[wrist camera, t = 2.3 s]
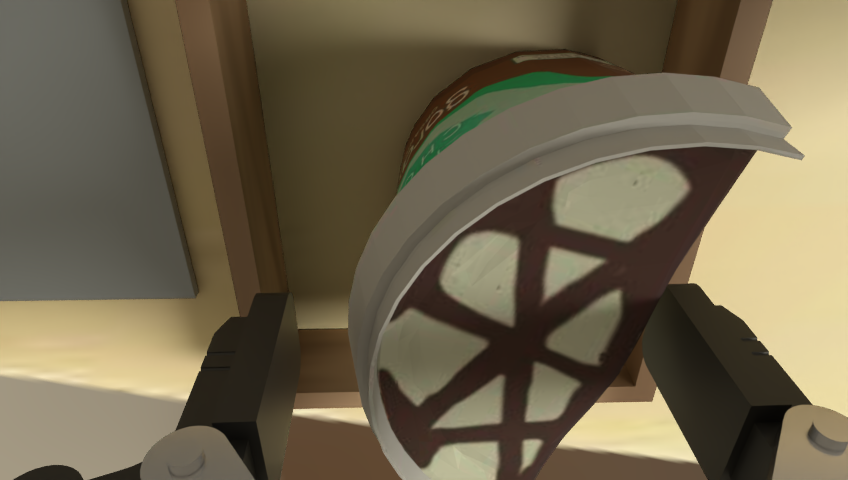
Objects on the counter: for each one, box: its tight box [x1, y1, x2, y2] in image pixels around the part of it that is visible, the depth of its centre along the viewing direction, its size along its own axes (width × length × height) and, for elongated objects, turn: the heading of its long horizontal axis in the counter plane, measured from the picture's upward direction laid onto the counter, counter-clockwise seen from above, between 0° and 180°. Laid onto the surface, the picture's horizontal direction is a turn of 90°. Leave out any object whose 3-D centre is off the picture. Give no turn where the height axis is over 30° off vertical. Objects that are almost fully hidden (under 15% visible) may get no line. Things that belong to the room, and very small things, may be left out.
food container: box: [348, 49, 805, 480], centre depth 16 cm, size 12×6×10 cm, turn 161°
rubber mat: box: [0, 0, 198, 301], centre depth 19 cm, size 10×13×1 cm
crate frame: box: [175, 0, 773, 409], centre depth 19 cm, size 15×17×4 cm
